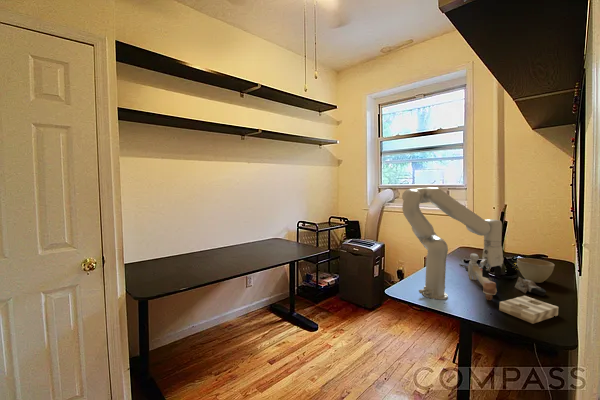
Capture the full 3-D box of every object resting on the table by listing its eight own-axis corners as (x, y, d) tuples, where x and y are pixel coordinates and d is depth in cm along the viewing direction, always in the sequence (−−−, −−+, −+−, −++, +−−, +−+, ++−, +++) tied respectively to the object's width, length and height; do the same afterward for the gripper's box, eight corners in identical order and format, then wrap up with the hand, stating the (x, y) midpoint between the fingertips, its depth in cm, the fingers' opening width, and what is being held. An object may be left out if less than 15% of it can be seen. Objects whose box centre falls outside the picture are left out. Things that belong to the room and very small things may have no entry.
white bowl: (549, 288, 166) (551, 267, 165) (512, 279, 180) (513, 260, 179) (555, 281, 177) (557, 262, 176) (520, 273, 191) (521, 256, 190)
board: (532, 323, 123) (533, 314, 123) (499, 310, 136) (499, 302, 135) (557, 315, 131) (558, 306, 131) (523, 303, 144) (524, 295, 143)
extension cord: (528, 267, 208) (528, 264, 208) (523, 271, 197) (523, 268, 197) (508, 263, 217) (508, 261, 217) (502, 267, 207) (502, 264, 206)
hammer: (499, 279, 151) (477, 253, 179) (489, 278, 152) (469, 253, 180) (494, 304, 155) (473, 275, 183) (485, 303, 156) (466, 274, 184)
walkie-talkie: (490, 273, 192) (459, 266, 208) (491, 267, 192) (460, 260, 208) (485, 275, 187) (454, 268, 203) (486, 269, 187) (454, 262, 203)
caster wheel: (546, 299, 155) (532, 298, 152) (527, 288, 165) (513, 286, 163) (551, 289, 153) (537, 287, 151) (531, 278, 164) (518, 276, 161)
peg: (490, 302, 144) (491, 285, 144) (480, 298, 149) (481, 281, 149) (497, 300, 147) (498, 283, 146) (486, 296, 152) (487, 280, 151)
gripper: (489, 246, 139) (488, 280, 140) (510, 243, 146) (509, 275, 147) (474, 243, 146) (473, 276, 147) (495, 240, 153) (494, 271, 154)
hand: (491, 275), depth 147 cm, fingers open, 9 cm apart
